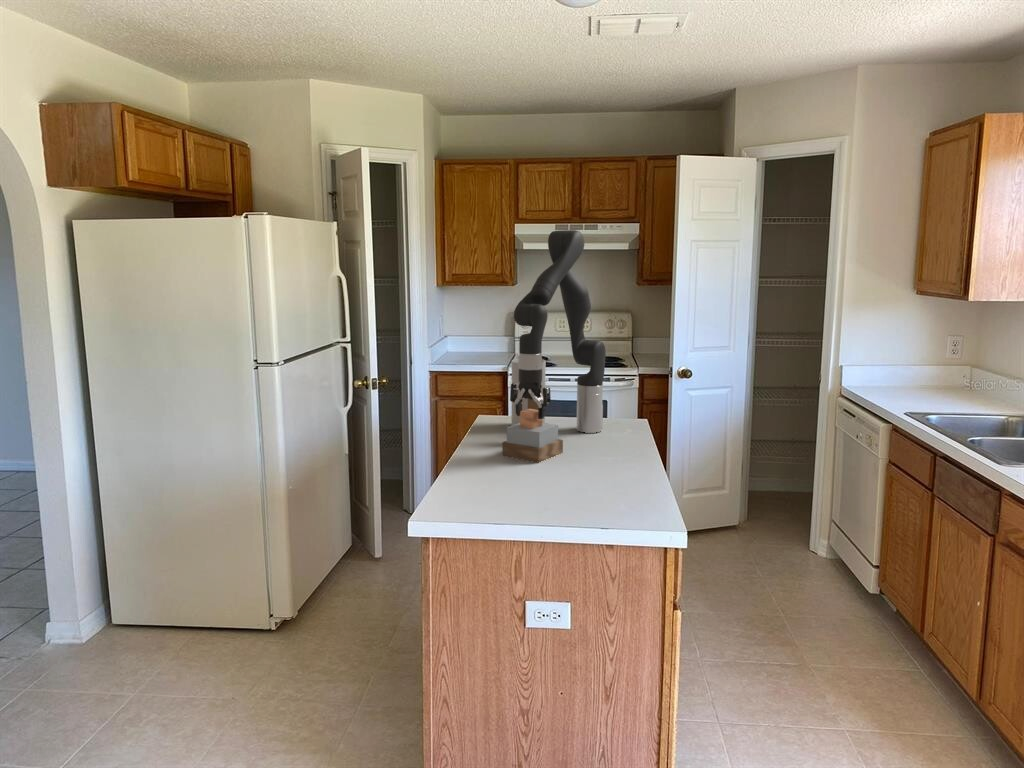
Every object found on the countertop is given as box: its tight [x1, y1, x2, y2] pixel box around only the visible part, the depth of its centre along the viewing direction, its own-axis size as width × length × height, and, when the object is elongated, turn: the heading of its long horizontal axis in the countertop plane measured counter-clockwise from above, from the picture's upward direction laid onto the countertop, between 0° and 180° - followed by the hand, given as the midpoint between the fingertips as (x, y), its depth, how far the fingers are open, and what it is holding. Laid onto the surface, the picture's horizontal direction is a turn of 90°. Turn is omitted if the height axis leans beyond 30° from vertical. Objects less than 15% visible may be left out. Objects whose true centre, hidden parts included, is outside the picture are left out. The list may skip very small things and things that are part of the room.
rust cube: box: [520, 409, 542, 429], centre depth 236 cm, size 5×5×5 cm
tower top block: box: [506, 422, 559, 448], centre depth 237 cm, size 12×12×5 cm
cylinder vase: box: [511, 358, 547, 426], centre depth 274 cm, size 12×12×25 cm
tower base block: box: [501, 438, 564, 464], centre depth 238 cm, size 14×14×5 cm
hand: (530, 417), depth 236 cm, fingers open, 8 cm apart
